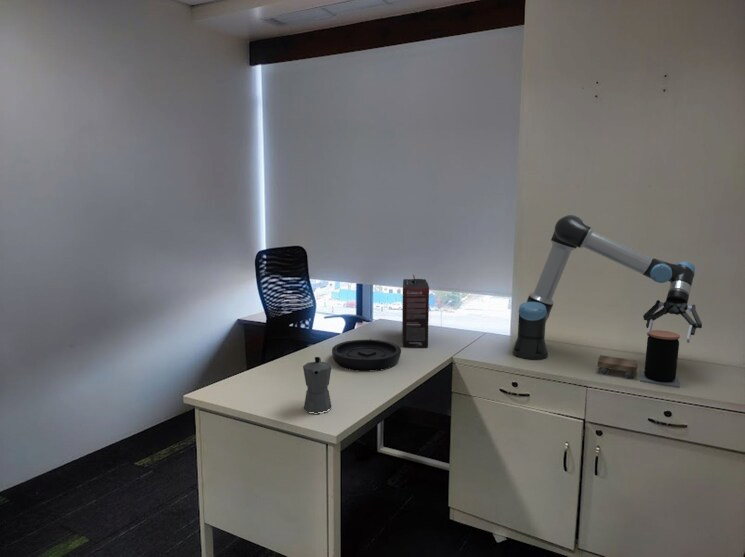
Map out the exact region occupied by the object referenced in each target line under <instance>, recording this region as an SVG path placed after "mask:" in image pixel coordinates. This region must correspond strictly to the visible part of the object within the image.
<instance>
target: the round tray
mask: <svg viewBox="0 0 745 557" xmlns="http://www.w3.org/2000/svg"><path fill="white" fill-rule="evenodd" d="M401 353H402V348H401V347H400V346H399V345H397V344H395V343H393V342H390V341H385V340H381V339H354V340H346V341H344V342H340V343H337V344H335V345H334V346H333V347H332V349H331V354H332V355H331V356H332V357H333V358H332V359H333V360H334V362H335V363H336V365H337V366H338V367H341V368H342V369H345V368H346V369H347V370H349V369H350V371H356V370H359V372H371V371H370V370H377V371H382V370H381V369H384V370H387V369H390V368H393V367H394V366H396V365H397V364H398V362H399V360H400V359H401ZM395 364H396V365H395ZM392 366H393V367H392ZM389 367H390V368H389ZM386 368H387V369H386Z"/></svg>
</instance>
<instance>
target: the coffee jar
mask: <svg viewBox="0 0 745 557" xmlns="http://www.w3.org/2000/svg"><path fill="white" fill-rule="evenodd" d="M648 335H649V336H647V341H646V352H645V361H644V362H645V363H644V370H643V371H644V373H645V375H646V377H647V378H648V379H650V380H653V381H658V382H672V381H673V380H674V379H675V378H676V376H677V368H678V360H679V351H680V350H679V349H680V341H679V339H680V337H681V336H680V334H679V333H676V332H673V331H669V330H668V331H667V330H661V329H659V330H658V329H655V330H653V329H651V331H649V332H648Z"/></svg>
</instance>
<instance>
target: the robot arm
mask: <svg viewBox="0 0 745 557" xmlns="http://www.w3.org/2000/svg"><path fill="white" fill-rule="evenodd" d="M550 242H551V244H552V246H551V248H550V251H549V252H548V256H547V257H546V260H545V263H544V265H543V268H542V271H541V273H540V276H539V279H538V281H537V283H536V286H535V289H534V291H533V292H531V293H529V295H528V297H527V300H526V302H522V303H520V305H519V307H518V322H517V323H518V324H517V338H516V340H515V343H514V345H513V347H512V354H513V355H514V356H515V357H518V358H521V359H525V360H526V359H527V360H534V361H535V360H536V361H537V360H544V359H547V358H548V355H549V351H548V348H547V345H546V344H547V343H546V338H545V337H546V335H545V334H546V323H547V321H548V319H549V318H550V314H551V311H552V309H553V306H554V303H555V302H554V301H553V297H554V295H555V292H556V290H557V287H558V285H559V282H560V280H561V278H562V275H563V273H564V271H565V268H566V265H567V263H568V261H569V258H570V255H571V253H572V251H574V250H576V249H577V248H579V249H582V248H584V249H588V250H590V251H591V252H593V253H595V254H597V255H600V256H601V257H604V258H606V259H609V260H610V261H613V262H615V263H617V264H619V265H621V266H623V267H626V268H628V269H629V270H632V271H634V272H636V273H638V274H641V275H643V276H644V277H647V278H649V279H651V280H652V281H653V282H655V283H659V284H663V283H667V282H670V283H669V287H668V291H667V295H666V300H665V301H664V302H662V301H661V300H659V299H658V300H656V302H655V303H654V305H653V306H651V308H649V310H647V311H646V312H645V313H644V314H643V315H642V317H643V320H644V321H646V324H645V327H646V329H647V331H646V335H647V337H649V335H648V332H649V331H652V330H653V326H654V321H655V320H657V319H659V318H661V317H662V316H664V315H667V314H670V315H676V316H680V315H681V316H682V318H684V320H686V322H687V323H688V324H689V327H688V331H687V336H686V343H688V344H689V343H690V342H691V337H692V336H695V334H696V329H702V328H703V322H702V321H701V318H700V316H699V314H698V312H697V310H696V309H697V308H696V304H692V305H688V303H689V298H690V295H691V290H692V285H693V281H694V277H695V273H696V267H695V265H694V264H693V263H692V262H690V261H683V260H682V261H681V260H680V261H678V262H676V263H671V262H667V261H664V260H660V259H657V258H652V257H651V256H648V255H646V254H644V253H642V252H639V251H637V250H635V249H633V248H630V247H628V246H627V245H625V244H622V243H619V242H618V241H615V240H613V239H611V238H609V237H607V236H604V235H602V234H601V233H598V232H596V231H594V230H593V228H592V227H591V226H589V225H587V224H586V223H584V222H583V219H581V218H580V217H579V216H576V215H572V214H570V215H565V216H563V217H561V218H559V220H557V221H556V223H555V226H554V230H553V234H552V235H551V239H550ZM661 307H662V309H661ZM687 310H689V312H691V314H692V317H693V318H694V319H693V318H691V316H690V315H689V314H688V313H687Z"/></svg>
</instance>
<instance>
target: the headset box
mask: <svg viewBox="0 0 745 557" xmlns="http://www.w3.org/2000/svg"><path fill="white" fill-rule="evenodd" d="M412 276H413V278H410V279H408V278H407V279H406V278H403V282H402V309H401V310H402V314H401V315H402V320H401V321H402V322H401V323H402V329H401V330H402V332H401V333H402V346H403V348H428V347H429V322H430V321H429V320H430V319H429V318H430V317H429V314H430V313H429V312H430V311H429V310H430V308H429V307H430V286H429V283H428V281H427V279H425V278H424V279H423V278H416V277H415V275H414V274H413V275H412Z"/></svg>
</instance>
